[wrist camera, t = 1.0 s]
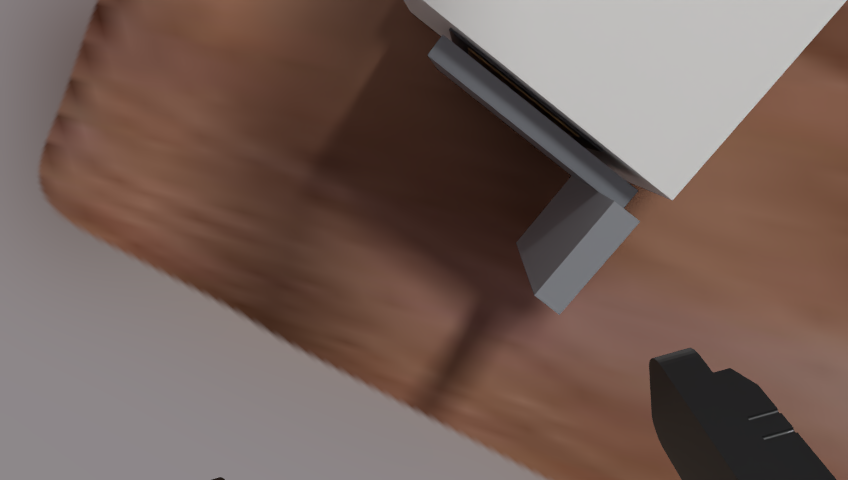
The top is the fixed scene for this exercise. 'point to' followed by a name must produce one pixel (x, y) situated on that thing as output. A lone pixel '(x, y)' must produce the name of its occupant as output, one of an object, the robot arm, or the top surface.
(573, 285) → the side door
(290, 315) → the top surface
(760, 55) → the knobbed white box
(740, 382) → the robot arm
